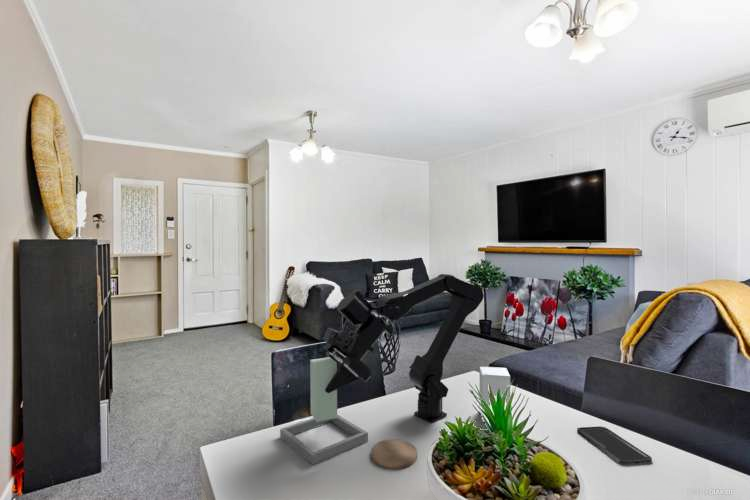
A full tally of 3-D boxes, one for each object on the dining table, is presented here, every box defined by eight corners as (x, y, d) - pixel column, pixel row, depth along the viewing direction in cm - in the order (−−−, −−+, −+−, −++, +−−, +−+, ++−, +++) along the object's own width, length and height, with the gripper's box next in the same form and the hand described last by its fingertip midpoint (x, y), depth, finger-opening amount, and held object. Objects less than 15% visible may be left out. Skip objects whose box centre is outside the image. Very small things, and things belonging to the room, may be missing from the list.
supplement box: (511, 425, 97) (511, 376, 97) (481, 422, 98) (481, 374, 98) (506, 413, 104) (506, 367, 104) (479, 410, 106) (479, 365, 106)
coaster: (395, 439, 90) (395, 434, 90) (426, 456, 82) (426, 452, 82) (362, 454, 84) (362, 449, 84) (393, 474, 76) (393, 469, 76)
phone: (603, 426, 95) (654, 459, 80) (603, 430, 95) (654, 464, 80) (574, 427, 94) (620, 461, 79) (574, 432, 94) (620, 467, 79)
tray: (332, 419, 101) (332, 411, 101) (367, 441, 89) (367, 432, 89) (280, 437, 91) (280, 429, 91) (312, 464, 79) (312, 455, 79)
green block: (330, 409, 93) (330, 357, 93) (337, 417, 89) (336, 362, 89) (310, 413, 91) (310, 359, 91) (316, 422, 87) (316, 365, 87)
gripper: (331, 310, 100) (290, 357, 96) (358, 322, 84) (310, 380, 79) (358, 336, 104) (320, 383, 99) (390, 353, 87) (345, 410, 82)
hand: (322, 388), depth 90 cm, fingers closed on green block, 5 cm apart
